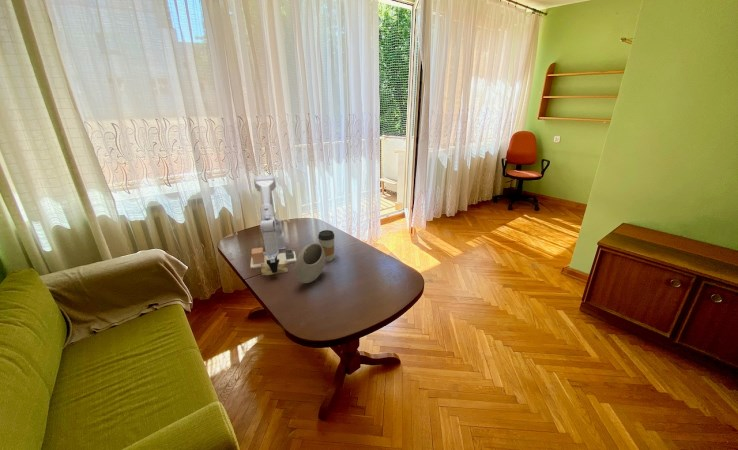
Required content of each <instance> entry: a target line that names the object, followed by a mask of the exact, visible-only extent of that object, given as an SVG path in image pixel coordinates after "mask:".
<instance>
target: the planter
mask: <svg viewBox="0 0 738 450" xmlns="http://www.w3.org/2000/svg"><path fill="white" fill-rule="evenodd" d="M325 264H326V261H325V252H324V249H323V247H322V246H321V245H320V243H319V242H312V243H309V244H307V245H305V246H304V247H303V248H302V249H301V250H300V251H299V252H298V255H297V256H296V262H295V265H294V272H295V277H296V279H297V280H298V281H299V282H300V283H302V284H309V283H313V282H314V281H316V280H317V279H318V277H319V276H320V275H321V273H322V272H323V270H324V267H325Z"/></svg>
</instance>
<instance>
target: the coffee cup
mask: <svg viewBox="0 0 738 450" xmlns="http://www.w3.org/2000/svg"><path fill="white" fill-rule="evenodd" d="M317 238H318V241H319V242H318V243H319V244H320V245H321V246H322V247H323V249H324V252H325V263H326V262H332V261H333V260H334V258H335V233H334V231H332V230H330V229H329V230H328V229H324V230H320V231H319V233H318V236H317Z"/></svg>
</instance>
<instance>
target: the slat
mask: <svg viewBox="0 0 738 450" xmlns="http://www.w3.org/2000/svg"><path fill="white" fill-rule="evenodd" d="M260 271H261V276H262V277H264V276H263V275H265V276H270V275H276V274H282V273H288V272H289V269H288V263H287V260H285V261H279V263H278V268H277V273H272V271H271V268H270V266H269V265H268V264H267V263H265V264H261V267H260Z"/></svg>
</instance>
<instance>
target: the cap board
mask: <svg viewBox="0 0 738 450" xmlns="http://www.w3.org/2000/svg"><path fill="white" fill-rule="evenodd" d="M264 257H265V258H264V262H265V263H267V260H270V259H269V258H268V257H267V256H266V255H264ZM277 259H279V261H285V260H287V264H290V263H296V260H297V255H296V251H294V249H293V248H290V249H284V252H281V253H280V252H279V253H278V255H277ZM265 263H259V264H253V259H252V257H251V258H250V269H252V268H253V269H258V268H261V264H265Z"/></svg>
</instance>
